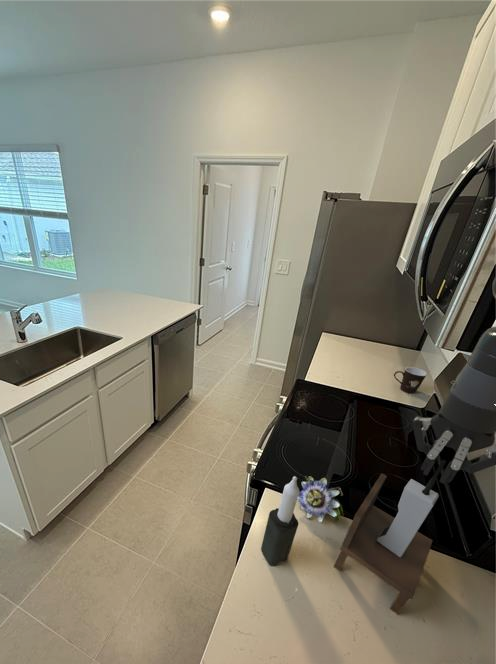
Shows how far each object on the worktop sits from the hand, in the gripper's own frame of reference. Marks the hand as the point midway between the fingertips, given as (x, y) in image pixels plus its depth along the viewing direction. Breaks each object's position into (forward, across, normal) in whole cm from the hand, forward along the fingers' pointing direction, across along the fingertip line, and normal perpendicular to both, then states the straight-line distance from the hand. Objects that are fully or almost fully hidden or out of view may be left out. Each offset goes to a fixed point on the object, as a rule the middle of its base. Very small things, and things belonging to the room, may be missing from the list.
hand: (433, 476), depth 56 cm
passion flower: (+29, +18, -4) cm, 34 cm away
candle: (+29, +19, +15) cm, 38 cm away
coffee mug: (+29, +20, -98) cm, 104 cm away
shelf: (+29, +1, 0) cm, 29 cm away
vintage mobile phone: (+21, 0, 0) cm, 21 cm away
